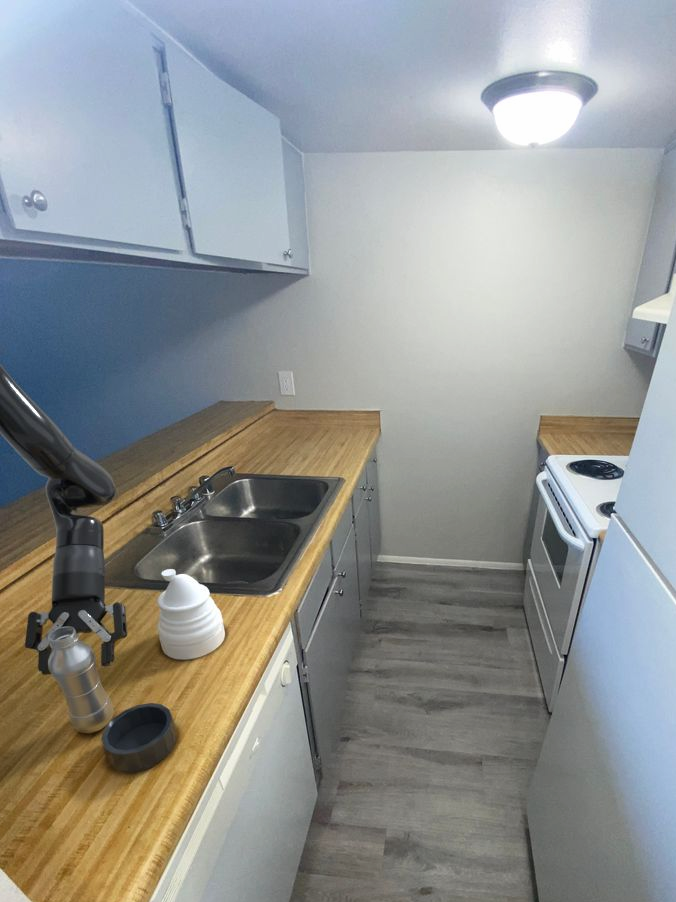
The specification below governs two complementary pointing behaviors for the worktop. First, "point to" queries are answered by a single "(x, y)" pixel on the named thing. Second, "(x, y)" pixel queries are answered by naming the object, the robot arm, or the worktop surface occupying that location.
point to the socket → (139, 737)
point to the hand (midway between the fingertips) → (77, 670)
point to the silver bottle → (79, 681)
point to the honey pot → (188, 618)
